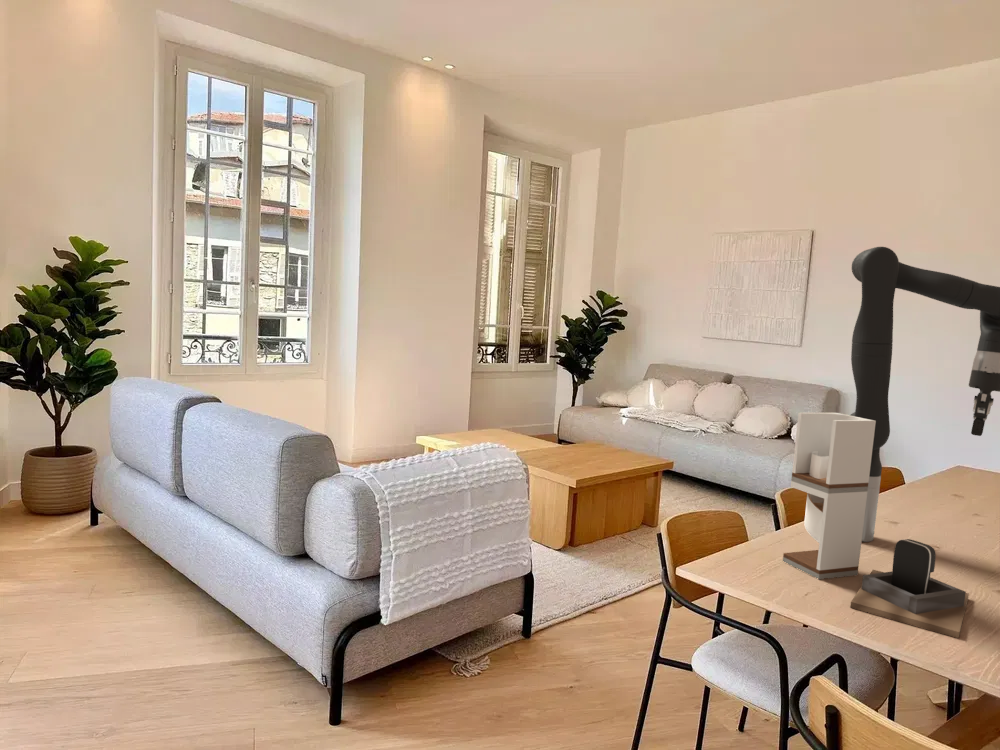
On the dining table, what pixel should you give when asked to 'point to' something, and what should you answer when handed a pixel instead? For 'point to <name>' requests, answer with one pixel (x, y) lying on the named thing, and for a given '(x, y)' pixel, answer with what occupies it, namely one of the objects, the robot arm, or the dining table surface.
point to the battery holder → (913, 603)
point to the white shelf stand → (832, 490)
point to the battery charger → (912, 566)
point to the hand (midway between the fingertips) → (976, 434)
